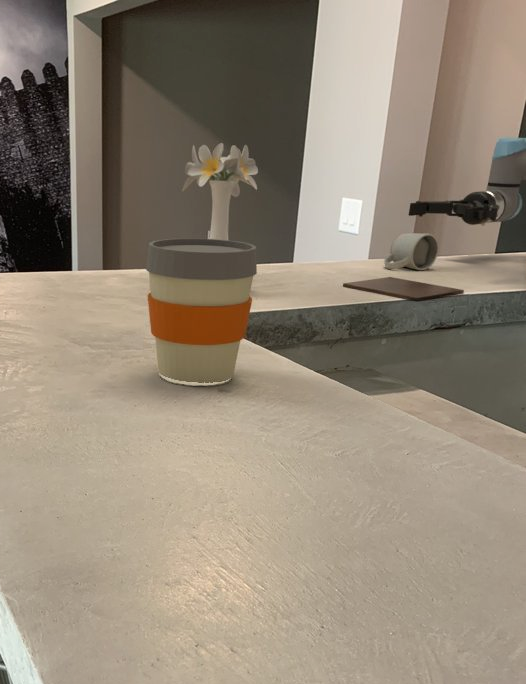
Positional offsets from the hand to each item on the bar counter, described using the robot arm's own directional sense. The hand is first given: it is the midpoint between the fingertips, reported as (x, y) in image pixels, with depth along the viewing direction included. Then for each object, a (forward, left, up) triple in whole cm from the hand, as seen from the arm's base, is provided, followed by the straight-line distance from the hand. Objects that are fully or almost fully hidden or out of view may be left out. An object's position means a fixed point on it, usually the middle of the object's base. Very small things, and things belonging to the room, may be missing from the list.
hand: (437, 212), depth 174 cm
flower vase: (+1, +67, -12) cm, 68 cm away
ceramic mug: (-1, +10, -12) cm, 15 cm away
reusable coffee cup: (-39, +106, -12) cm, 113 cm away
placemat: (-17, +34, -12) cm, 39 cm away
